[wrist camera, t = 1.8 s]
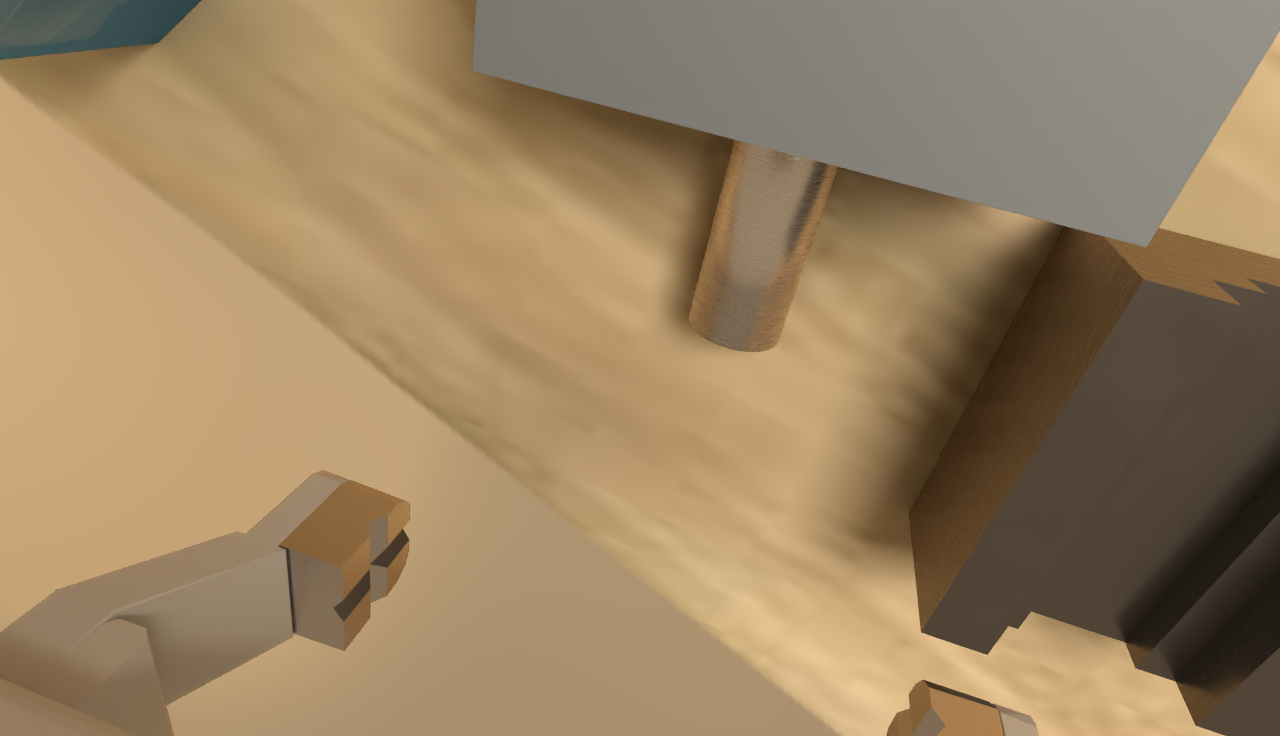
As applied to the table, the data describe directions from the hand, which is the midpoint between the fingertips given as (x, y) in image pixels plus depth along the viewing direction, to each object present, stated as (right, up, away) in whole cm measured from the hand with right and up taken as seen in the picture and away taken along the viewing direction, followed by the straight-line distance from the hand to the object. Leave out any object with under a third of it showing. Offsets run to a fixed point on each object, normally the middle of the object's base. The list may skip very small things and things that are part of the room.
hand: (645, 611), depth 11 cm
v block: (+16, +2, +11) cm, 20 cm away
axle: (+5, +11, +10) cm, 15 cm away
